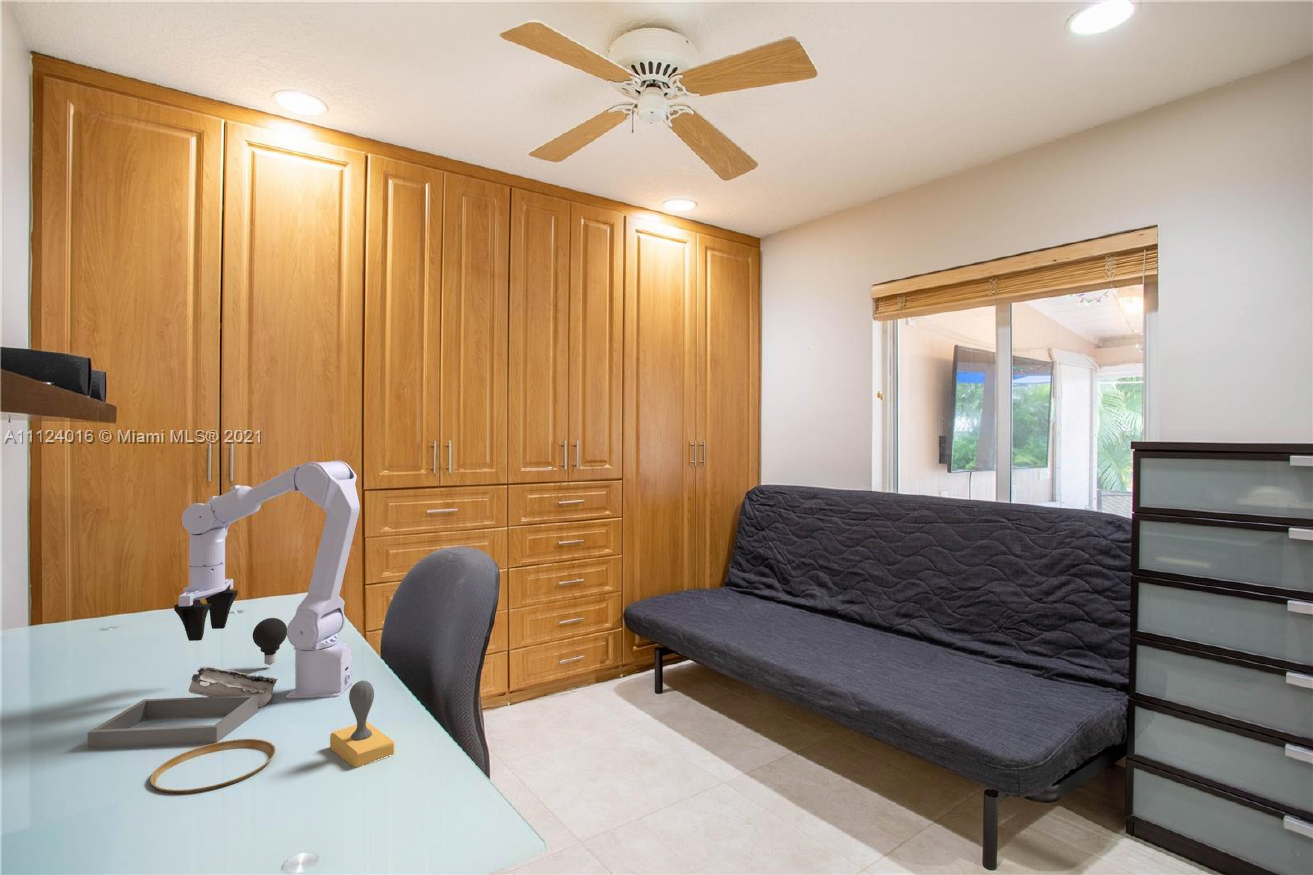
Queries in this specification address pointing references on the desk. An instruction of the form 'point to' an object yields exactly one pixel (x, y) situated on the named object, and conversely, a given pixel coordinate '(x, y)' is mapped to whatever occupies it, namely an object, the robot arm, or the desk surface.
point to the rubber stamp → (361, 731)
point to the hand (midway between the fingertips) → (207, 634)
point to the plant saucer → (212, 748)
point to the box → (122, 735)
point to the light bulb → (270, 637)
